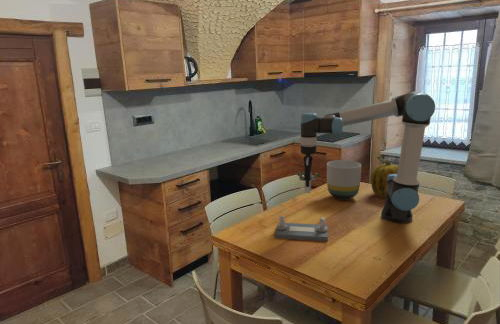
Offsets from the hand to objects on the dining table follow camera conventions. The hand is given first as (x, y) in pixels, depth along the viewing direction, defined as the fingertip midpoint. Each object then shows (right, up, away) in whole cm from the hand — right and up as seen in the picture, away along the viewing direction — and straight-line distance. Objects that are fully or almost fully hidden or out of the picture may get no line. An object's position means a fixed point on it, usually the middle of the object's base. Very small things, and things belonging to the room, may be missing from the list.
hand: (307, 191), depth 189 cm
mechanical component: (0, 0, 0) cm, 1 cm away
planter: (+27, -7, +39) cm, 47 cm away
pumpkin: (+54, -6, +40) cm, 67 cm away
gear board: (-4, -19, -8) cm, 21 cm away
